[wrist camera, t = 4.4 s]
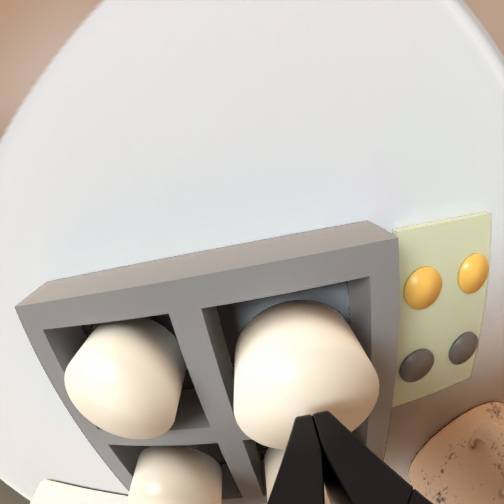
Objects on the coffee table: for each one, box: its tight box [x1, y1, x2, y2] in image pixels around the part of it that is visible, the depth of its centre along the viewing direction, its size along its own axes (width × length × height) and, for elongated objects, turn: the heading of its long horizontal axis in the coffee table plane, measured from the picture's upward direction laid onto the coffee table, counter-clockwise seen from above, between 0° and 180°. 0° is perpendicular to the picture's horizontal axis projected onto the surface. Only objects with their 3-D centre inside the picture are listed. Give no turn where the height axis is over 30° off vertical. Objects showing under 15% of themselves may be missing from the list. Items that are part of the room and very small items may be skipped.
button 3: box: [127, 445, 222, 504], centre depth 11 cm, size 4×4×3 cm
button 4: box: [64, 317, 186, 440], centre depth 10 cm, size 4×4×3 cm
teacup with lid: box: [409, 402, 504, 504], centre depth 10 cm, size 12×9×12 cm
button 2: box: [234, 300, 379, 450], centre depth 9 cm, size 4×4×3 cm
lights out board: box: [15, 211, 491, 504], centre depth 12 cm, size 13×19×2 cm
